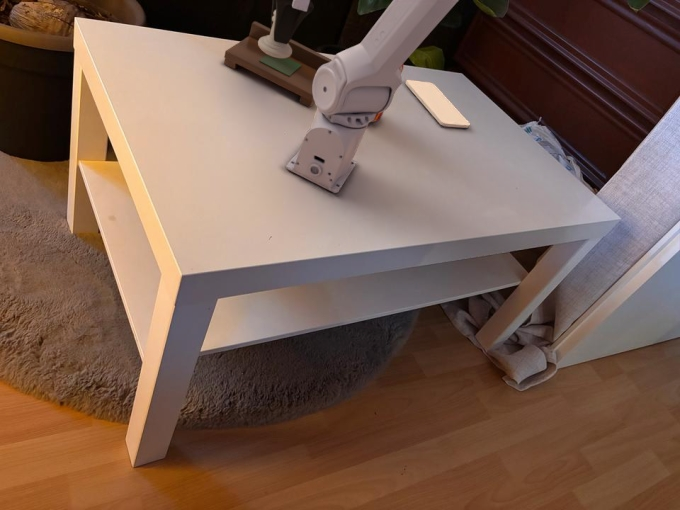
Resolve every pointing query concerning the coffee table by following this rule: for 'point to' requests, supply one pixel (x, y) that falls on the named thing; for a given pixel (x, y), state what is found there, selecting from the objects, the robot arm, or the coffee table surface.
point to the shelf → (278, 63)
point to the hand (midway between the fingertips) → (279, 35)
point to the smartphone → (437, 104)
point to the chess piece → (274, 44)
